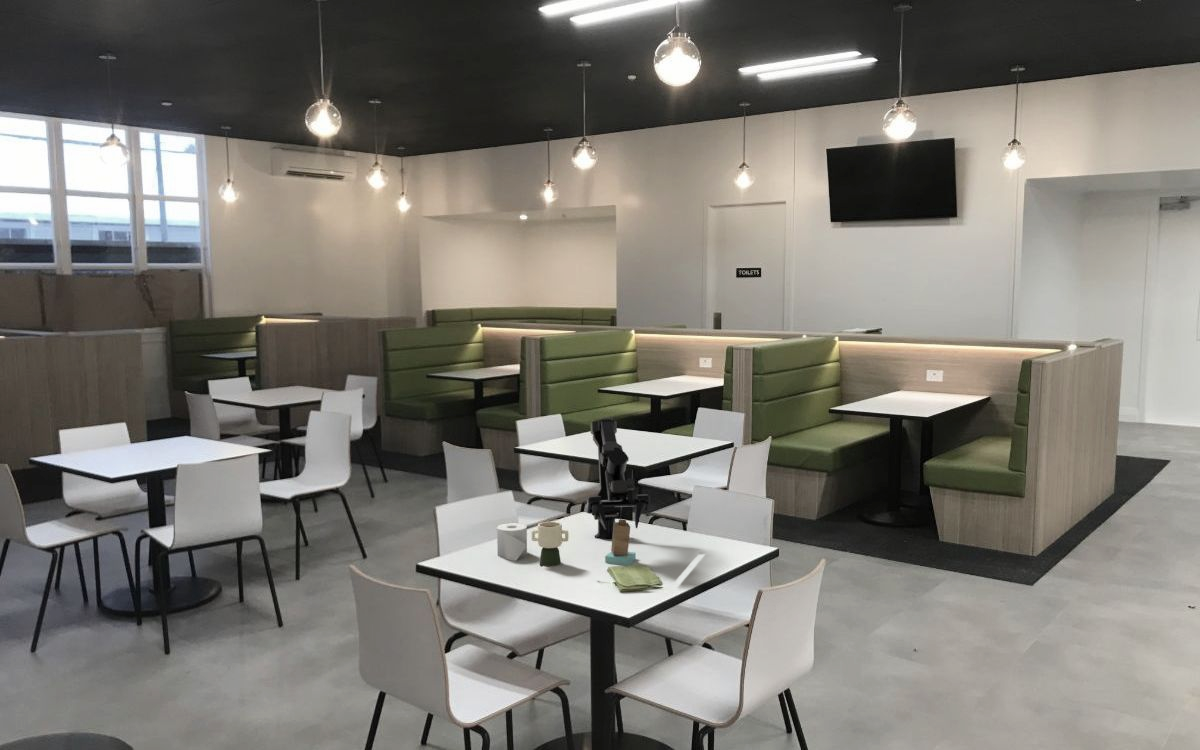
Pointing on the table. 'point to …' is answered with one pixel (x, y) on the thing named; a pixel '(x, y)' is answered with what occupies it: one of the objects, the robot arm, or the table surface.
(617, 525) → the walnut pillar
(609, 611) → the table surface
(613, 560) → the teal slab
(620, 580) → the washcloth
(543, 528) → the character mug
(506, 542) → the toilet tissue
